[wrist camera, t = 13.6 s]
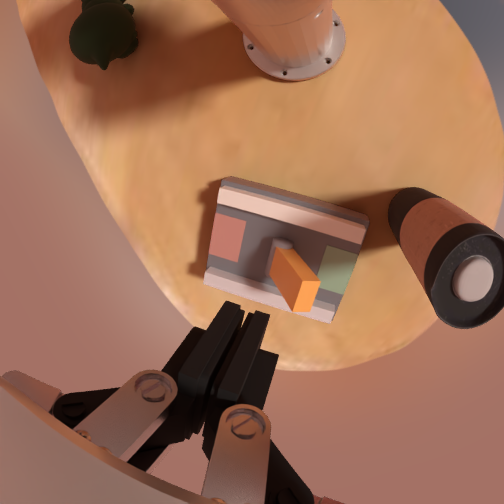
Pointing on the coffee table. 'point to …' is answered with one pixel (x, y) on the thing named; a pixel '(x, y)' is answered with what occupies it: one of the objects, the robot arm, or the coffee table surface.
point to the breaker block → (286, 226)
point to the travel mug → (450, 257)
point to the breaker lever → (291, 275)
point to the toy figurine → (103, 32)
